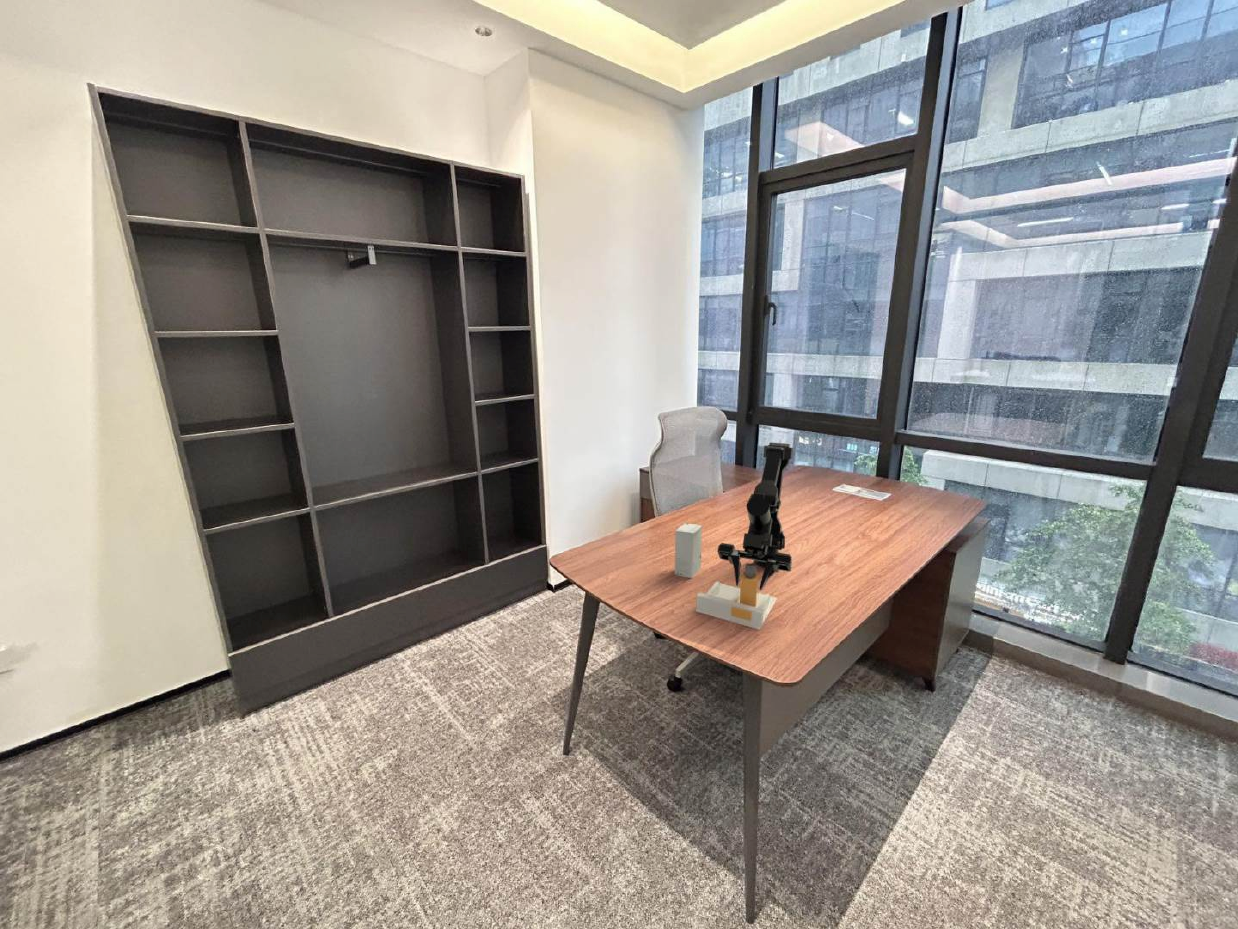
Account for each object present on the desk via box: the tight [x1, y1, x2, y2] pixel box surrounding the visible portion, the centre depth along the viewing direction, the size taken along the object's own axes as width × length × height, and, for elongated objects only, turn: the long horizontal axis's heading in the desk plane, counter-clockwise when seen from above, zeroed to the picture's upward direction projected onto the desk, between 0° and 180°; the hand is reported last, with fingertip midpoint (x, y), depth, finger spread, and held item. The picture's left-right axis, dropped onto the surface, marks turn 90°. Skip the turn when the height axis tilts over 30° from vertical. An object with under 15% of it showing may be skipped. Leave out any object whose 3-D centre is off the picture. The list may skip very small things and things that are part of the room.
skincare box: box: [674, 522, 703, 579], centre depth 153 cm, size 8×6×15 cm
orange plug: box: [740, 563, 760, 607], centre depth 130 cm, size 4×4×13 cm
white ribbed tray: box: [695, 581, 778, 630], centre depth 135 cm, size 18×17×5 cm
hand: (748, 587), depth 129 cm, fingers open, 6 cm apart
